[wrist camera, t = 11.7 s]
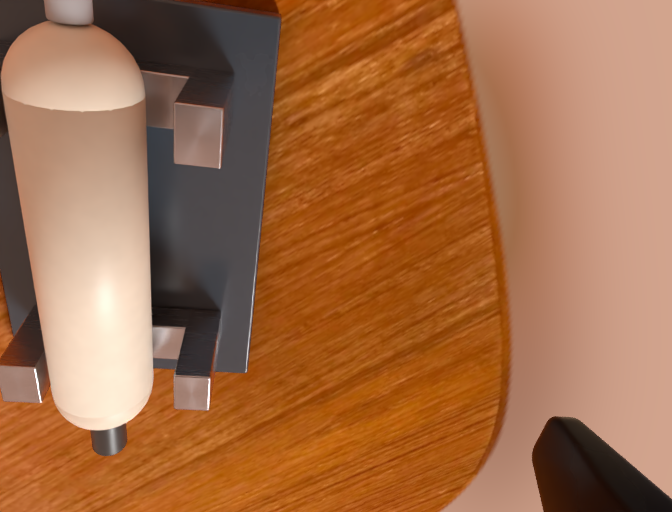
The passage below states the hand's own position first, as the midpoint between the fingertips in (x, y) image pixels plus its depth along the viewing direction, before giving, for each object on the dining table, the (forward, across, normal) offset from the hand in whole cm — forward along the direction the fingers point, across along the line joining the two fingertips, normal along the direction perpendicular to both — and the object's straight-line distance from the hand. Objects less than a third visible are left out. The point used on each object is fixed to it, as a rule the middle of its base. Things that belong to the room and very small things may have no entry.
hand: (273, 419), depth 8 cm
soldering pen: (+10, +5, +2) cm, 11 cm away
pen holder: (+12, +5, +3) cm, 13 cm away
